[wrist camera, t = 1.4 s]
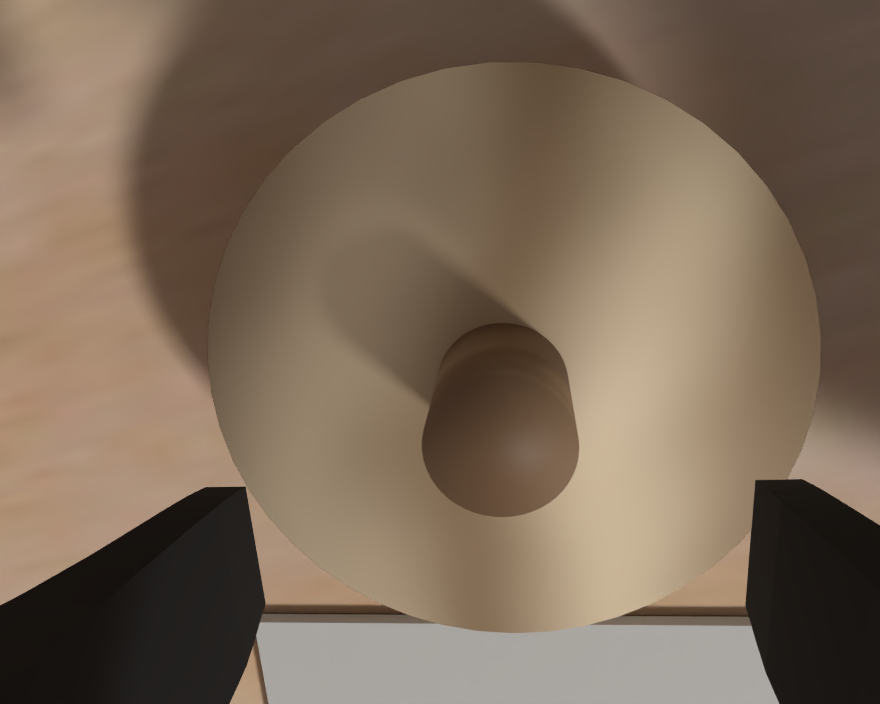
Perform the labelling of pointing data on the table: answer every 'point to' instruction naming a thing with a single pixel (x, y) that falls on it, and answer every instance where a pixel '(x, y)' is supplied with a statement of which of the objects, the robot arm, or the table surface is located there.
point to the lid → (513, 346)
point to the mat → (510, 662)
